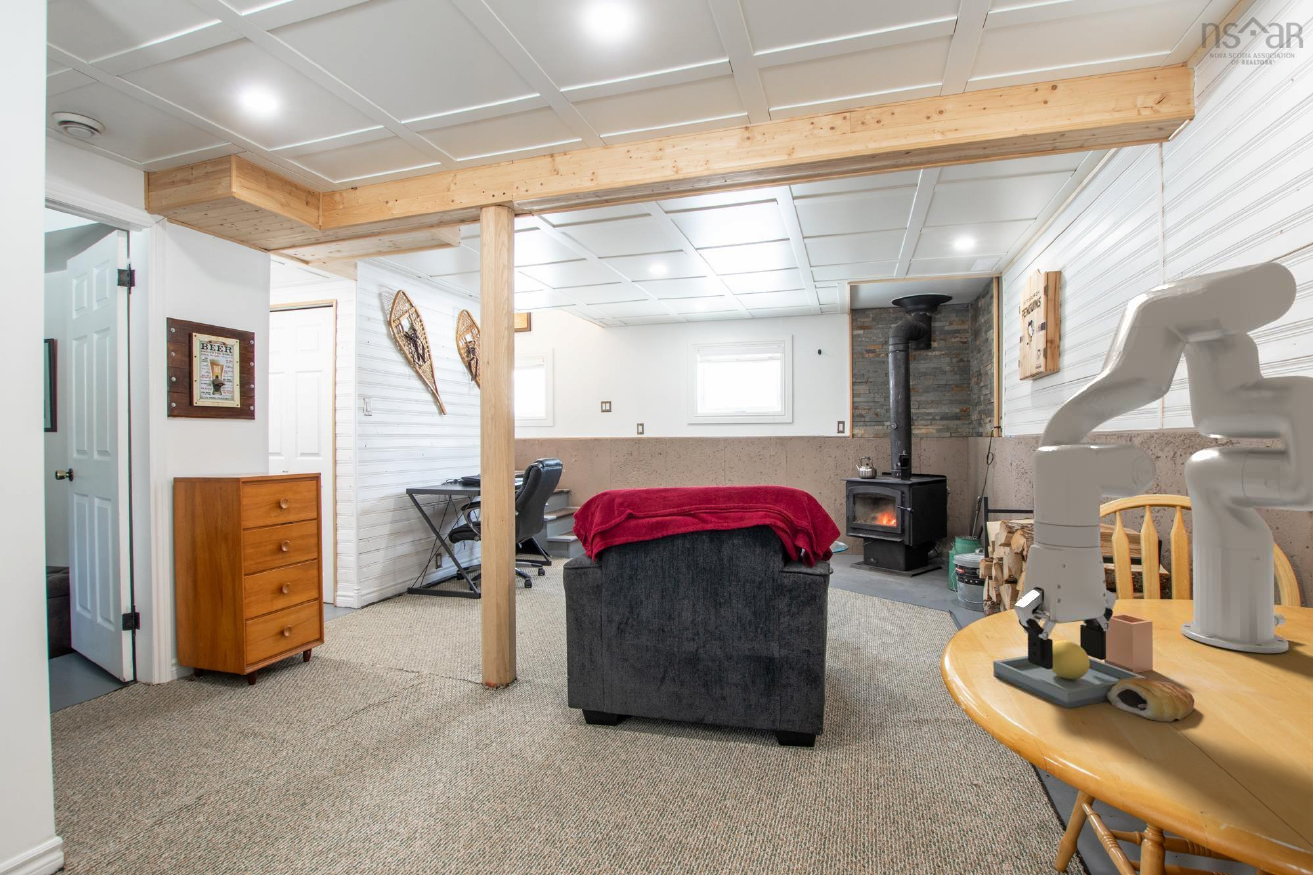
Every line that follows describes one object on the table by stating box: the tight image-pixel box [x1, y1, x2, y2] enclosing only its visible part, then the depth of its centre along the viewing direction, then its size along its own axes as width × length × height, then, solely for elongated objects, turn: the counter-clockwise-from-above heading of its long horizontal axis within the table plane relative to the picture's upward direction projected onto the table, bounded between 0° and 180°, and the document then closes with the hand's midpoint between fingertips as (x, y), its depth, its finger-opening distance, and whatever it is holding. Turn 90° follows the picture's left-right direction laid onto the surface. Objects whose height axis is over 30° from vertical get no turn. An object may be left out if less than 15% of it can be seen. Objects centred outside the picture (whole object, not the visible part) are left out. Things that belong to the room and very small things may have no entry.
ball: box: [1051, 639, 1090, 679], centre depth 82 cm, size 5×5×5 cm
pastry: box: [1107, 677, 1195, 723], centre depth 75 cm, size 9×7×4 cm
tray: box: [992, 655, 1147, 710], centre depth 82 cm, size 14×11×2 cm
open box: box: [1103, 613, 1154, 674], centre depth 88 cm, size 4×4×7 cm
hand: (1067, 661), depth 82 cm, fingers open, 9 cm apart
